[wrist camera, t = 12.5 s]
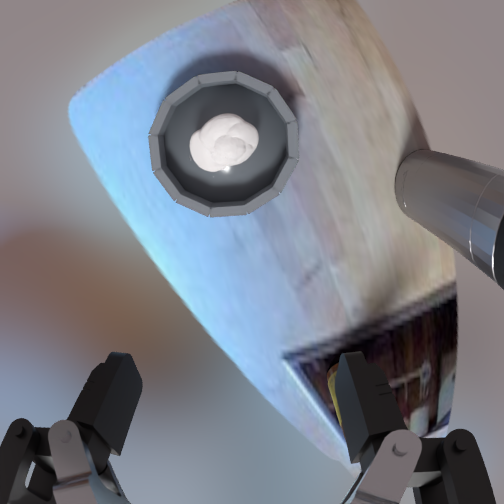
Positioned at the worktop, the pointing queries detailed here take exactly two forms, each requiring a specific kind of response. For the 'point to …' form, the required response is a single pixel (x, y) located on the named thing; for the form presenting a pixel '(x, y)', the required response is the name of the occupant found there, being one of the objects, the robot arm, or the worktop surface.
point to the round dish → (232, 177)
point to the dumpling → (223, 142)
